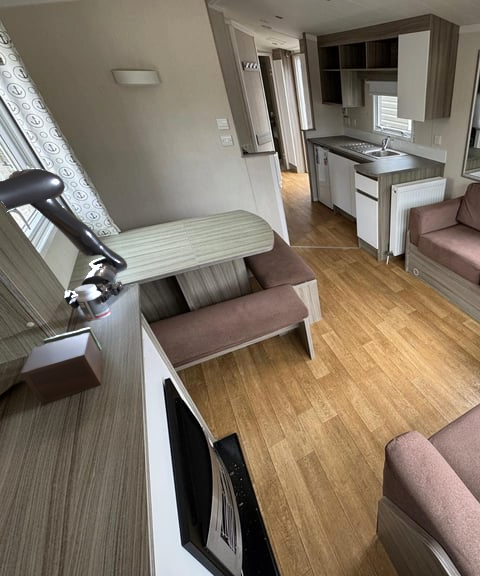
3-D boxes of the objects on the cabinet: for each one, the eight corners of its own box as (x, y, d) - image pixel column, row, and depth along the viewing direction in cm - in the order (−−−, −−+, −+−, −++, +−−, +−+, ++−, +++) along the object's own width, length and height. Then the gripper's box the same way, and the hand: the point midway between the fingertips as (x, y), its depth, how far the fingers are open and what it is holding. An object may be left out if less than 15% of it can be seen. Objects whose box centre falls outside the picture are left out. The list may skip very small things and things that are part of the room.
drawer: (58, 358, 76) (45, 336, 73) (102, 346, 81) (90, 324, 78) (50, 383, 69) (34, 359, 66) (98, 367, 73) (85, 344, 70)
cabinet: (52, 376, 72) (33, 347, 68) (104, 360, 77) (89, 332, 73) (42, 404, 64) (20, 373, 60) (101, 384, 69) (84, 354, 65)
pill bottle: (113, 309, 97) (100, 281, 92) (108, 318, 92) (94, 289, 88) (90, 314, 94) (75, 285, 90) (83, 323, 90) (68, 293, 85)
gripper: (66, 276, 97) (48, 297, 84) (122, 267, 103) (114, 285, 90) (76, 297, 100) (61, 320, 87) (130, 286, 107) (124, 307, 94)
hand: (88, 302), depth 89 cm, fingers closed on pill bottle, 5 cm apart
